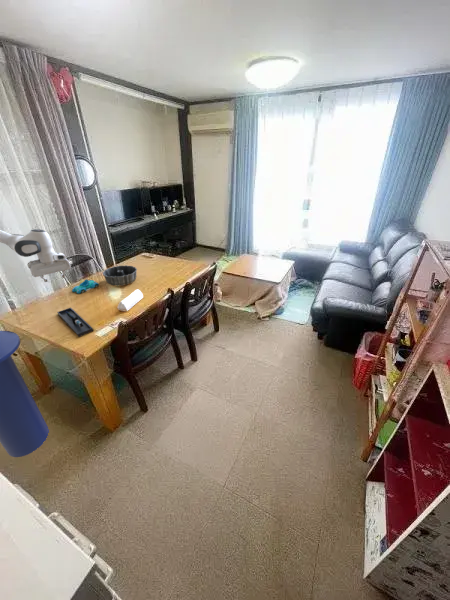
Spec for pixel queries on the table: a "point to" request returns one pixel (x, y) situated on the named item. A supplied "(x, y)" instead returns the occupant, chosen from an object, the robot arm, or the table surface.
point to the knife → (75, 320)
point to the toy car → (85, 286)
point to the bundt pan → (120, 275)
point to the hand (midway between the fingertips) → (54, 279)
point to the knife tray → (78, 330)
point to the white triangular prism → (130, 300)
